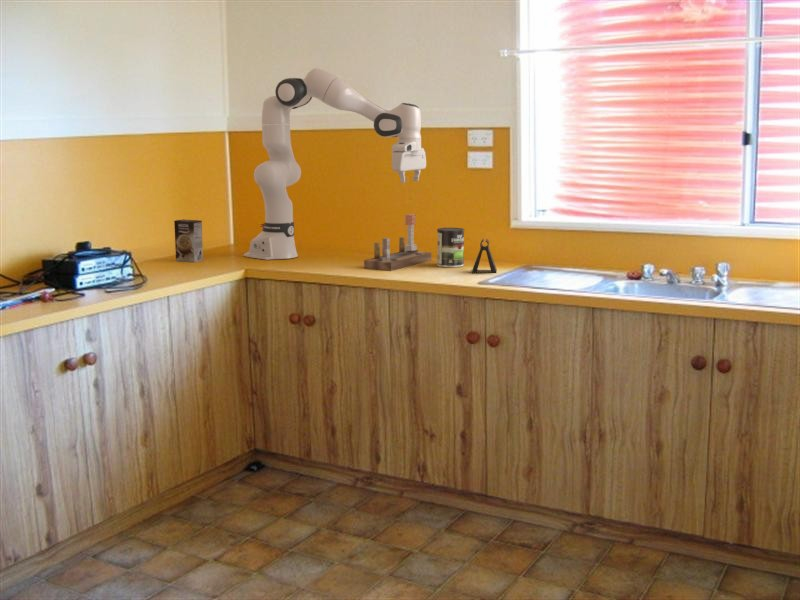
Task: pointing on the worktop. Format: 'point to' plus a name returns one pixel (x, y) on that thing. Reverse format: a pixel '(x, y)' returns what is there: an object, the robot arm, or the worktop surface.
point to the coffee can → (450, 247)
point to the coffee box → (188, 240)
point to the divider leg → (410, 231)
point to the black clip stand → (490, 259)
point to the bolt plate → (395, 256)
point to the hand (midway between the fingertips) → (409, 182)
